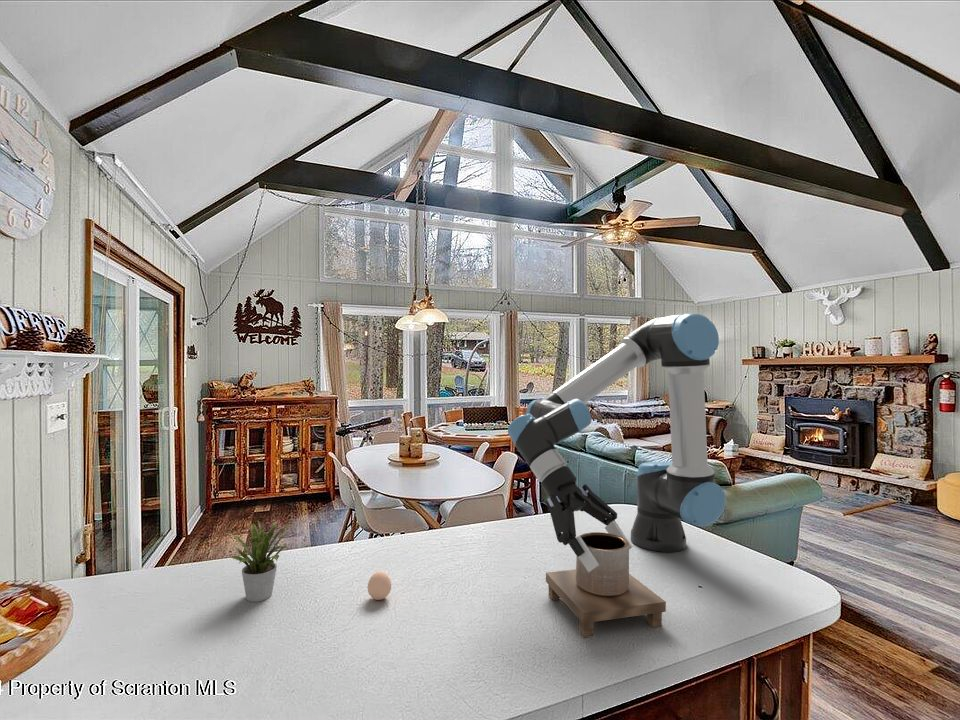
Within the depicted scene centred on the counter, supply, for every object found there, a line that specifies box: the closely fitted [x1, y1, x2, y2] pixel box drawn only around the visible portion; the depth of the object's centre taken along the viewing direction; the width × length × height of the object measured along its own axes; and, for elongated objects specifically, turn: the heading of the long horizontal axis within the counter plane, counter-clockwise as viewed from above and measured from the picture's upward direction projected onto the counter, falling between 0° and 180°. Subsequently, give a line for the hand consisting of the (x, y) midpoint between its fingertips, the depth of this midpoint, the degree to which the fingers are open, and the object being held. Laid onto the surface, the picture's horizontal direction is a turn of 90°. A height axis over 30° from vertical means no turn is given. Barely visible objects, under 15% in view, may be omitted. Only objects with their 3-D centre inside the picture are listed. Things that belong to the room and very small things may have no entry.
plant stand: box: [545, 568, 667, 638], centre depth 106 cm, size 18×18×5 cm
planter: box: [575, 531, 630, 597], centre depth 106 cm, size 11×11×10 cm
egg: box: [367, 570, 392, 601], centre depth 110 cm, size 5×5×6 cm
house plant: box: [226, 519, 296, 603], centre depth 110 cm, size 14×14×16 cm
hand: (611, 559), depth 105 cm, fingers open, 13 cm apart
